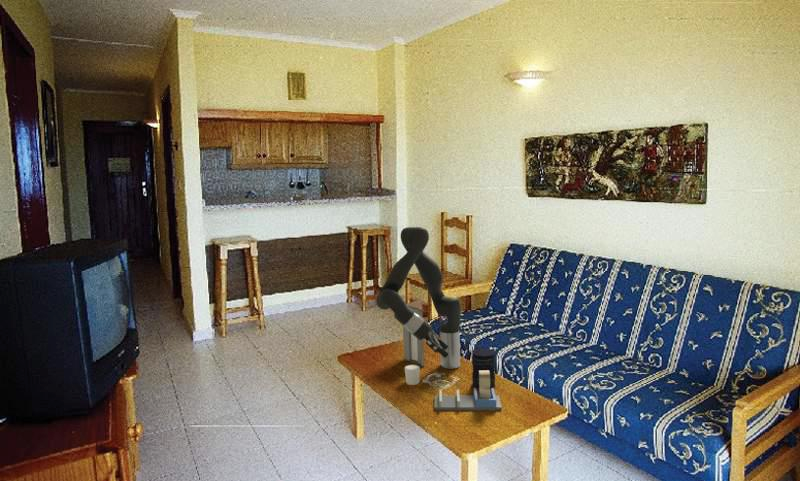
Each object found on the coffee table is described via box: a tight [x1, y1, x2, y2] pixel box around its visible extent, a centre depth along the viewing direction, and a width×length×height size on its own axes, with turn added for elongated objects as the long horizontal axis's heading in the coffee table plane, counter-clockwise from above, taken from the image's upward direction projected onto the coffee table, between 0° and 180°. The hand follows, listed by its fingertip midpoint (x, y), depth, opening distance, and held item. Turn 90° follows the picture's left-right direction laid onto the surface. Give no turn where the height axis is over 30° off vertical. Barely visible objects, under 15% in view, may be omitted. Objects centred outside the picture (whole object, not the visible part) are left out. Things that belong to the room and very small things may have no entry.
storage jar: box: [471, 342, 496, 390], centre depth 229 cm, size 10×10×18 cm
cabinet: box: [402, 298, 425, 368], centre depth 263 cm, size 21×10×28 cm, turn 179°
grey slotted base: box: [433, 387, 503, 411], centre depth 212 cm, size 11×26×4 cm, turn 85°
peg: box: [478, 370, 491, 399], centre depth 211 cm, size 4×4×12 cm
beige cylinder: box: [404, 364, 421, 386], centre depth 236 cm, size 7×7×7 cm
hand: (446, 352), depth 216 cm, fingers open, 8 cm apart
